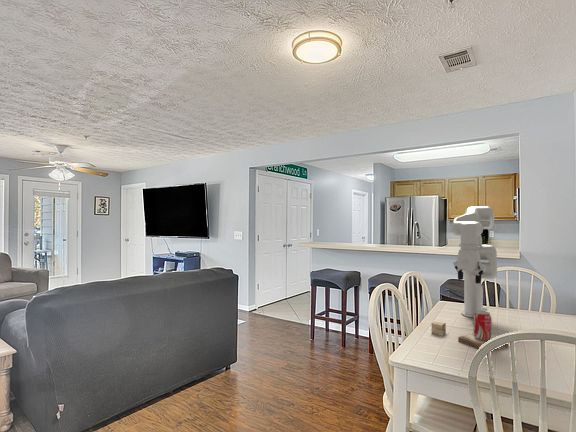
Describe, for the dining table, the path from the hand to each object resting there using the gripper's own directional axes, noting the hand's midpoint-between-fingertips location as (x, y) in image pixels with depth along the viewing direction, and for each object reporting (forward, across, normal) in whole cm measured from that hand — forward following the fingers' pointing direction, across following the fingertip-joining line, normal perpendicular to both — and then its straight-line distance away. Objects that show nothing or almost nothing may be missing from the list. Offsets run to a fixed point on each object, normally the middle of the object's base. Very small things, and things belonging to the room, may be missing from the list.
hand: (469, 281), depth 169 cm
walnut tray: (+25, +14, -10) cm, 30 cm away
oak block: (+25, -5, -16) cm, 30 cm away
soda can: (+23, +14, -10) cm, 28 cm away
